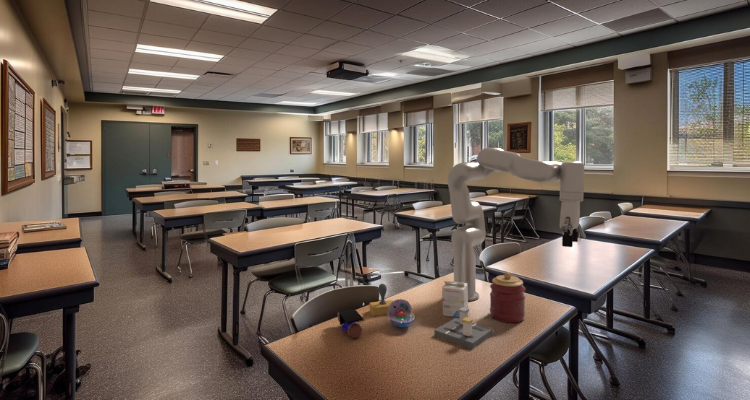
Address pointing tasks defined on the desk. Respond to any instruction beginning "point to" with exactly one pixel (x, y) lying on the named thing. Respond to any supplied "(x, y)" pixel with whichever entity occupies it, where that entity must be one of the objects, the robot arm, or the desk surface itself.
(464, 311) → the fader tab plain
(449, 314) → the ink box
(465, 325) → the fader tab brass
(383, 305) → the rubber stamp
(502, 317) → the canister
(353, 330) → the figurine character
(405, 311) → the cell model
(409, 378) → the desk surface
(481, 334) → the board
